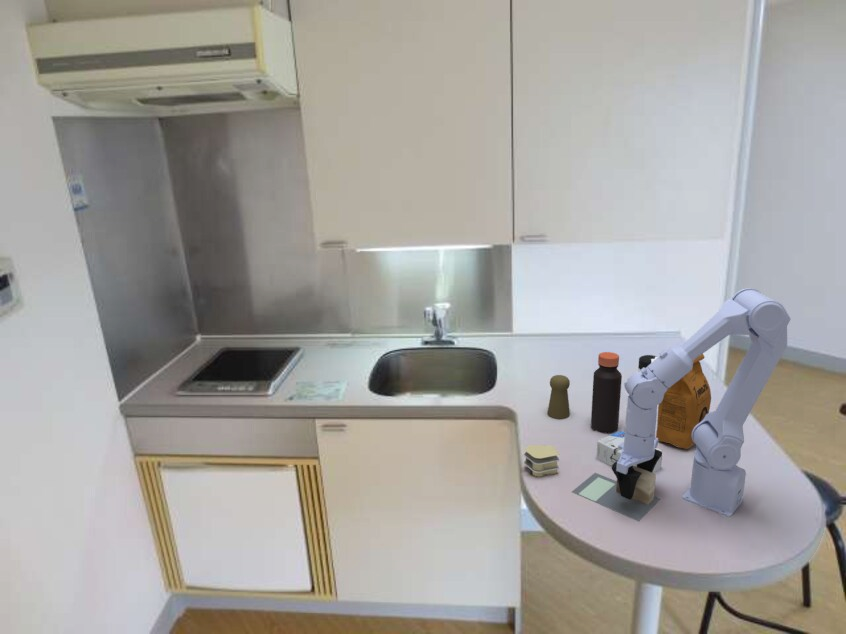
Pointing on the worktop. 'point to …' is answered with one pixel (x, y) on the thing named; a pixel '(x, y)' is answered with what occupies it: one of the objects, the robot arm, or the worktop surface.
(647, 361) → the medicine bottle
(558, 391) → the olive pawn
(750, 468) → the worktop surface
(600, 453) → the ink box
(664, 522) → the worktop surface
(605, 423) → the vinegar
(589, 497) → the rubber mat
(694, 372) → the coffee package
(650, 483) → the card case
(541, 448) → the beige stacked block
